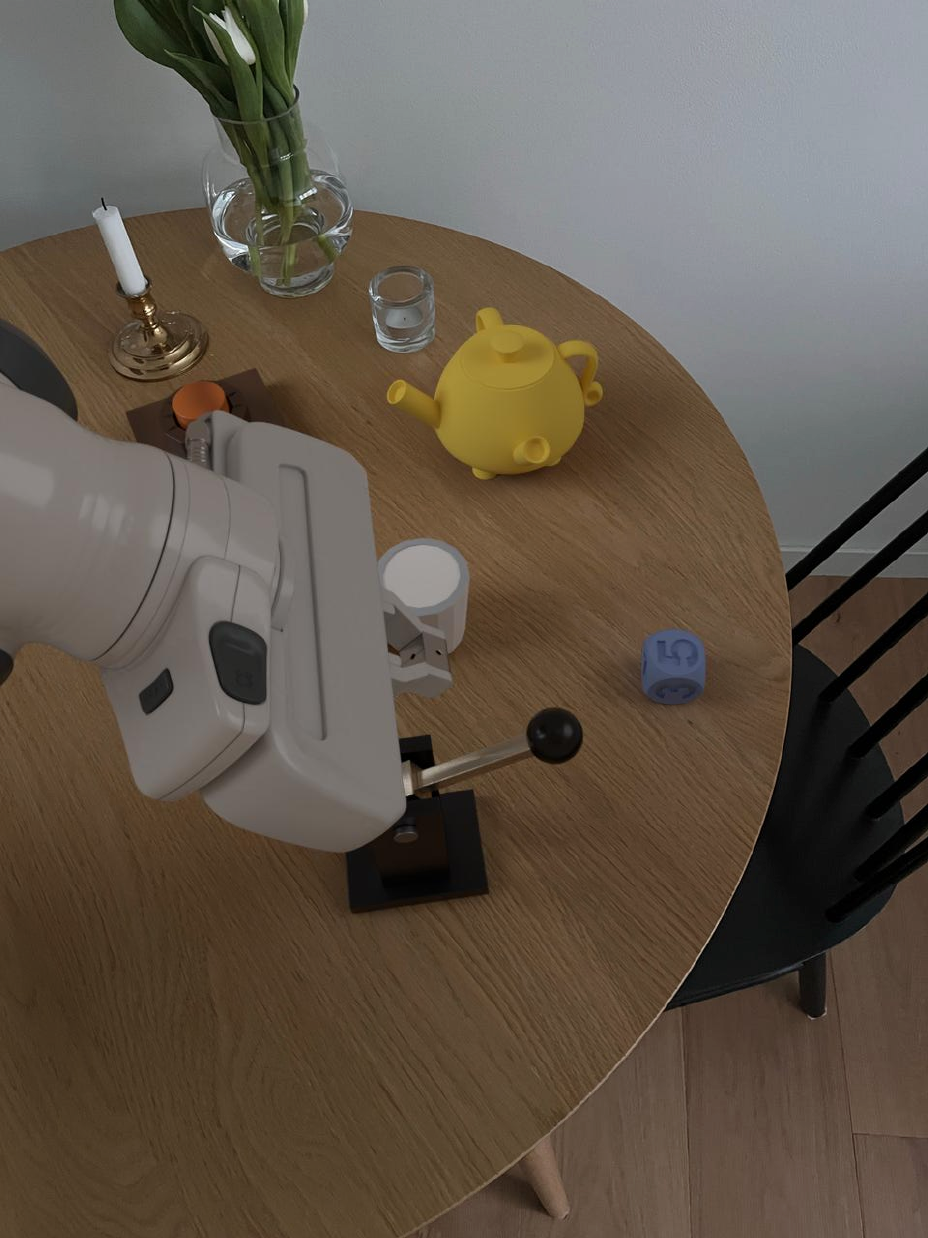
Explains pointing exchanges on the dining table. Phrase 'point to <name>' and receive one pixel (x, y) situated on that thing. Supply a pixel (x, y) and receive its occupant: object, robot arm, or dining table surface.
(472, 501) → the dining table surface
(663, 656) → the decorative dice
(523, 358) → the teapot
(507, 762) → the silver lever with knob
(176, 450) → the button block
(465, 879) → the black lever base
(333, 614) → the robot arm
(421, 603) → the white faceted cylinder
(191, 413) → the button
